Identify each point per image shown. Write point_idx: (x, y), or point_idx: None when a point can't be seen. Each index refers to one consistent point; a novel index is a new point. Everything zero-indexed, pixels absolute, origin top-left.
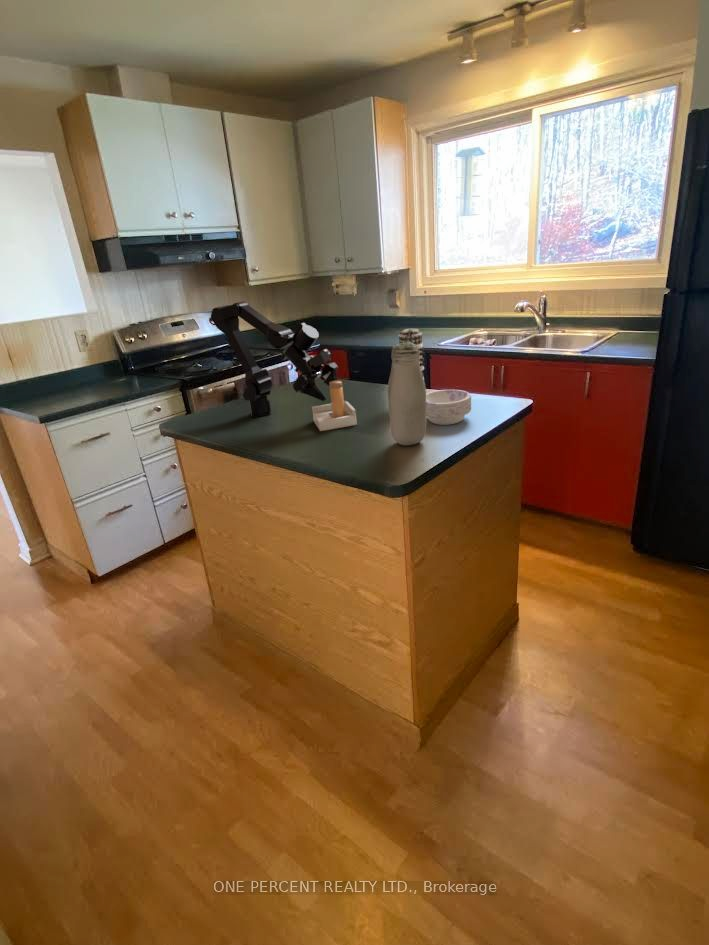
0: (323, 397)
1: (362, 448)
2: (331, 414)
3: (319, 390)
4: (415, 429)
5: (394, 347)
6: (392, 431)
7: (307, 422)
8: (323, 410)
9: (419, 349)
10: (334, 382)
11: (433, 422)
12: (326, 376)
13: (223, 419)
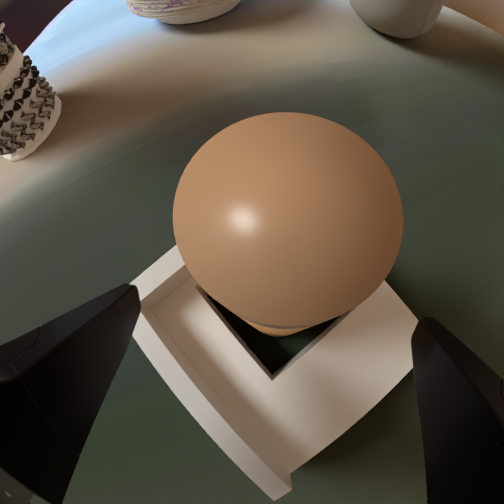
0: (444, 330)
1: (473, 110)
2: (258, 363)
3: (478, 379)
4: None
5: None
6: (434, 18)
7: (297, 484)
8: (244, 427)
9: None
10: (309, 214)
11: (234, 6)
12: (5, 489)
13: None
